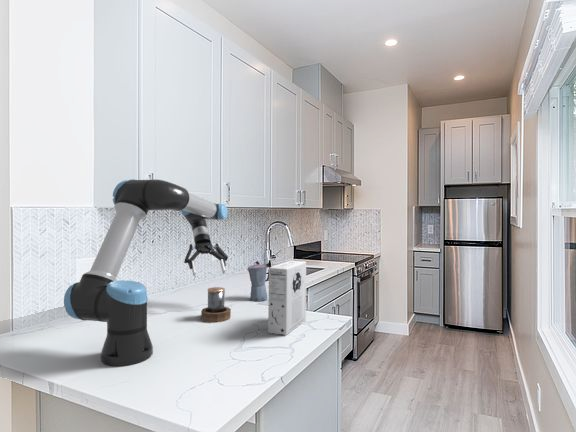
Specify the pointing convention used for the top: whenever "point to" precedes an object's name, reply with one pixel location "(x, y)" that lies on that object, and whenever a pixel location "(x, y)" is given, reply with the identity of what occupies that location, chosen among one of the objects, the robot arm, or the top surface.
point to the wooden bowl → (215, 315)
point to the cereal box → (287, 296)
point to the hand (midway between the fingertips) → (209, 273)
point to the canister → (216, 300)
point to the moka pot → (258, 281)
